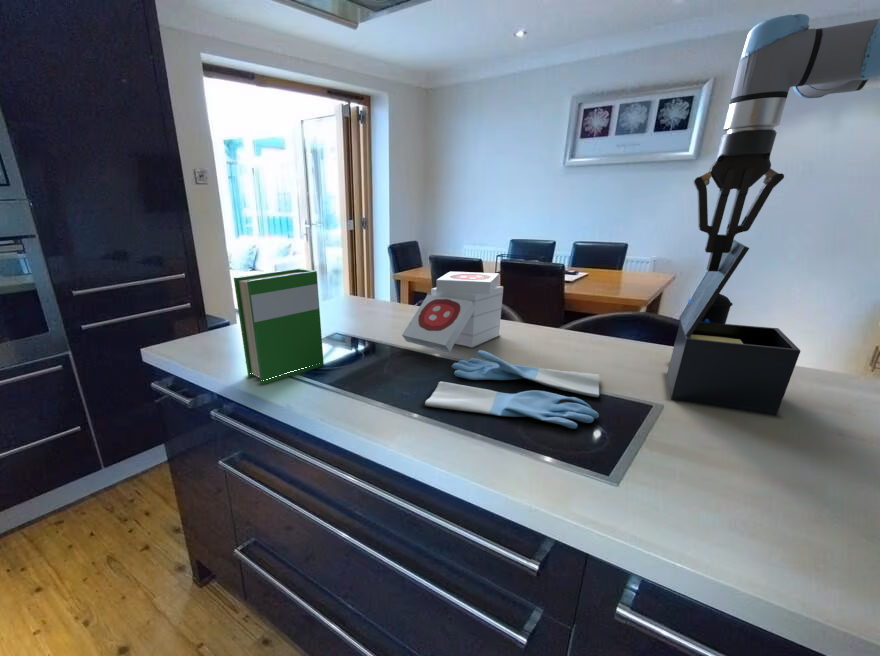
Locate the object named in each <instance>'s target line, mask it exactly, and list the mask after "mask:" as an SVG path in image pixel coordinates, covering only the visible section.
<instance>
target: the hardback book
mask: <svg viewBox="0 0 880 656" xmlns="http://www.w3.org/2000/svg"><path fill="white" fill-rule="evenodd" d="M233 283H234V290H235V296H236V297H235V298H236V303H237V310H238V317H239V318H238V319H239V323H240V331H241V337H242V338H241V339H242V344H243V351H244V358H245V365H246V371H247V372H246V373H247V377H249V378H253V377H257V378H259V379H260V384H261V385H266V384H270V383H272V382H276V381H279V380H282V379H285V378H289V377H292V376H295V375H298V374H302V373H304V372H307V371H311V370H315V369H318V368H321V367H324V366H325V364H324V363H325V362H324V350H323V337H322V324H321V310H320V296H319V284H318V271H317V270H312V269H306V268H301V267H299V268H290V269H284V270H278V271H270V272H265V273H263V272H262V273H256V274H250V275H241V276H237V277H233ZM319 363H320V364H319ZM316 364H317V365H316ZM312 365H313V366H312ZM309 366H310V367H309ZM305 367H307V368H305ZM301 368H304V369H301ZM298 369H300V370H298ZM294 370H297V371H294ZM290 371H294V372H290ZM287 372H290V373H287ZM250 373H251V374H250ZM252 373H253V374H252ZM284 373H287V374H284ZM254 374H255V375H254ZM281 374H284V375H281ZM256 375H257V376H256ZM279 375H281V376H279ZM258 376H259V377H258ZM275 376H277V377H275ZM272 377H274V378H272ZM269 378H271V379H269ZM266 379H268V380H266ZM261 380H262V381H261ZM263 380H264V381H263Z"/></svg>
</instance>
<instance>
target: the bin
mask: <svg viewBox="0 0 880 656" xmlns="http://www.w3.org/2000/svg"><path fill="white" fill-rule="evenodd" d="M692 335H705V336H716V337H725V338H733V339H740V340H741V341H742V343H743V344H740V343H730V342H720V341H710V340H700V339H691V337H690V338H689V337H686V336H685V334H684V331H683V327H682V324H681V321H680V320H679V325H678V329H677V333H676V337H675V340H674V344H673V347H672V352H671V357H670V361H669V364H668V369H667V372H666V375H667V382H668V390H669V395H670V400H674V401H679V402H687V403H691V404H698V405H706V406H710V407H718V408H726V409H731V410H739V411H745V412H750V413H757V414H764V415H770V416H778V413H779V410H780V407H781V405H782V403H783V399H784V397H785V395H786V392H787V389H788V387H789V384H790V380H791V378H792V375H793V373H794V370H795V367H796V365H797V362H798V359H799V356H800V354H801V352H802V350H800V348H799V347H798V346H797V345H796V344H795V343H794V342H793V341H792V340H791V339H790V338H789V337H788V336H787V335H786V334H785V333H784V332H783V331H782V330H781V329H780V328H779V327H769V326H755V325H743V324H742V325H741V324H732V323H731V324H730V323H725V324H721V323H709V322H700V323H699V324H698V326H697V327H696V329H695V330H694V332H693V333H692Z"/></svg>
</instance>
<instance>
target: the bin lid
mask: <svg viewBox="0 0 880 656" xmlns="http://www.w3.org/2000/svg"><path fill="white" fill-rule="evenodd" d="M749 250H750V247H748V246H747V245H745V244H743V243H741V242H739V241H737V240H736V239H734V240H733V243H732V247H731V250H730V252H729V253H723V254H722V258H721V261H720V265H719V269H718V272H716V271H707V273H706V275H705V276H704V277H703V279H702V280H701V283H700V284H699V285H698V287H697V289H696V291H695V292H694V294H693V295H692V297H691V298H690V299H691V300H690V301H689V302H687V304H686V306H685V307H684V309H683V311H682V312H681V314H680V316H679V317H678V318H679V322H680V321H681V324H682V327H683V331H684V334H685V336H686V337H689V338H690V336H691V335H692V333H693V332H694V330H695V329H696V327H697V326H698V324H699V323H700V321H701V320H702V318H703V317H704V315H705V314H706V312H707V311H708V309H709V308H710V306H711V305H712V303H713V302H714V300H715V299H716V297H717V296H718V294H721V292H722V291H723V289H724V288H725V286H726V284H727V283H728V281H729V280H730V278H731V277H732V275H733V274H734V272H735V270H736V269H737V268H738V266H739V265H740V263H741V262H742V260H743V259H744V257H745V256H746V254H747V253H748V252H749Z"/></svg>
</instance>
